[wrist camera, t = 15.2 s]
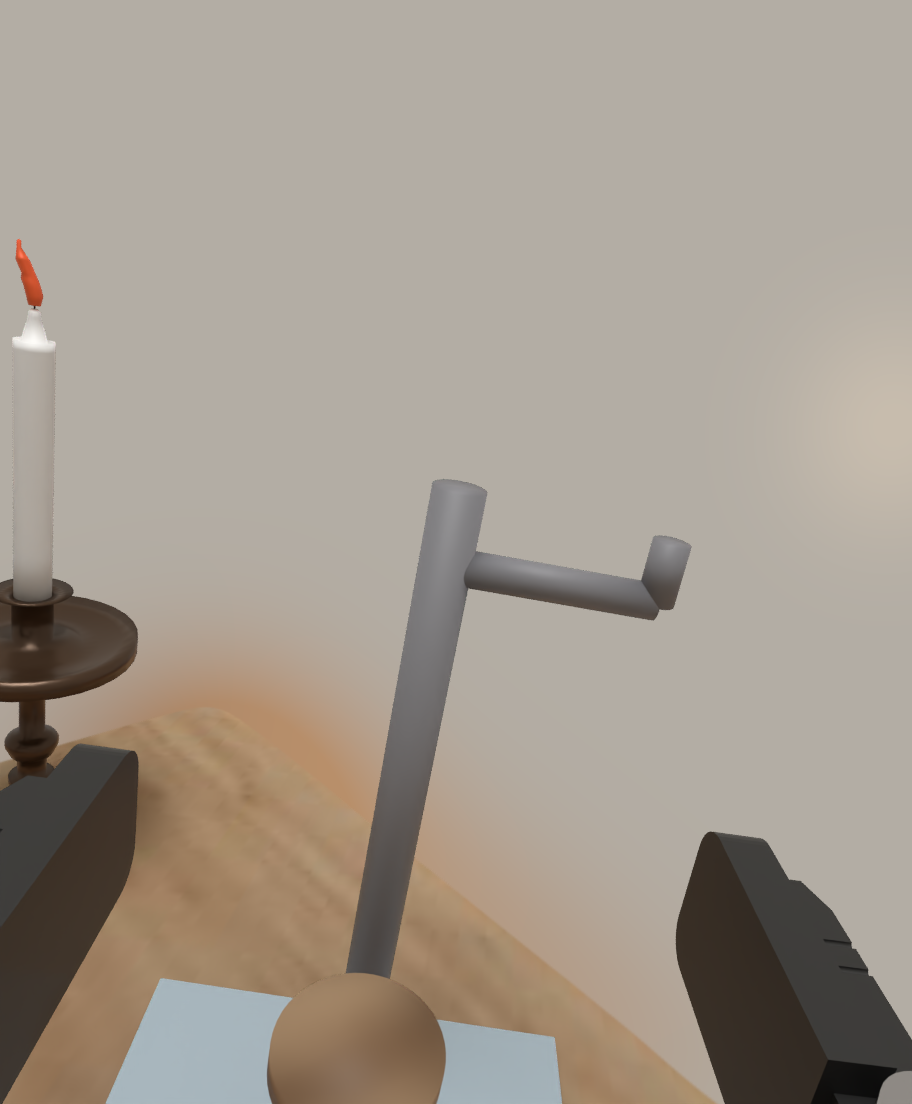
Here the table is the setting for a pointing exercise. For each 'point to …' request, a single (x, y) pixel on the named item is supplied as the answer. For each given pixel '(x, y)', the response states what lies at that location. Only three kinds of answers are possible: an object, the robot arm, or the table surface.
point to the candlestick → (45, 569)
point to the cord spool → (356, 1045)
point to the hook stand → (394, 839)
